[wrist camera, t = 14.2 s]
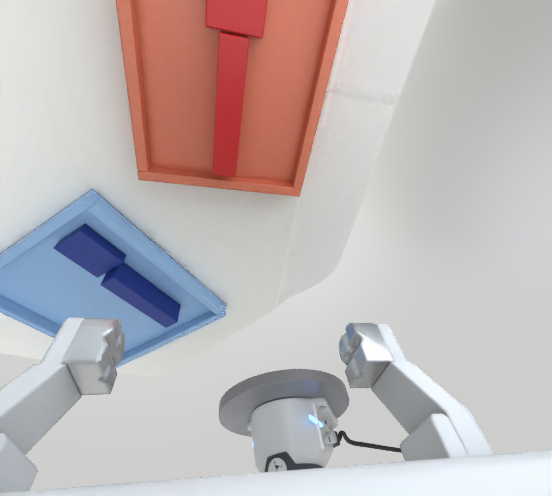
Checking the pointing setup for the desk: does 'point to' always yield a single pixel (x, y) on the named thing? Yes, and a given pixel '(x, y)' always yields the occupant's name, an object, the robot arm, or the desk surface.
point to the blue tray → (98, 280)
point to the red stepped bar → (232, 73)
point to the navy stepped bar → (118, 274)
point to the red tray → (203, 83)
